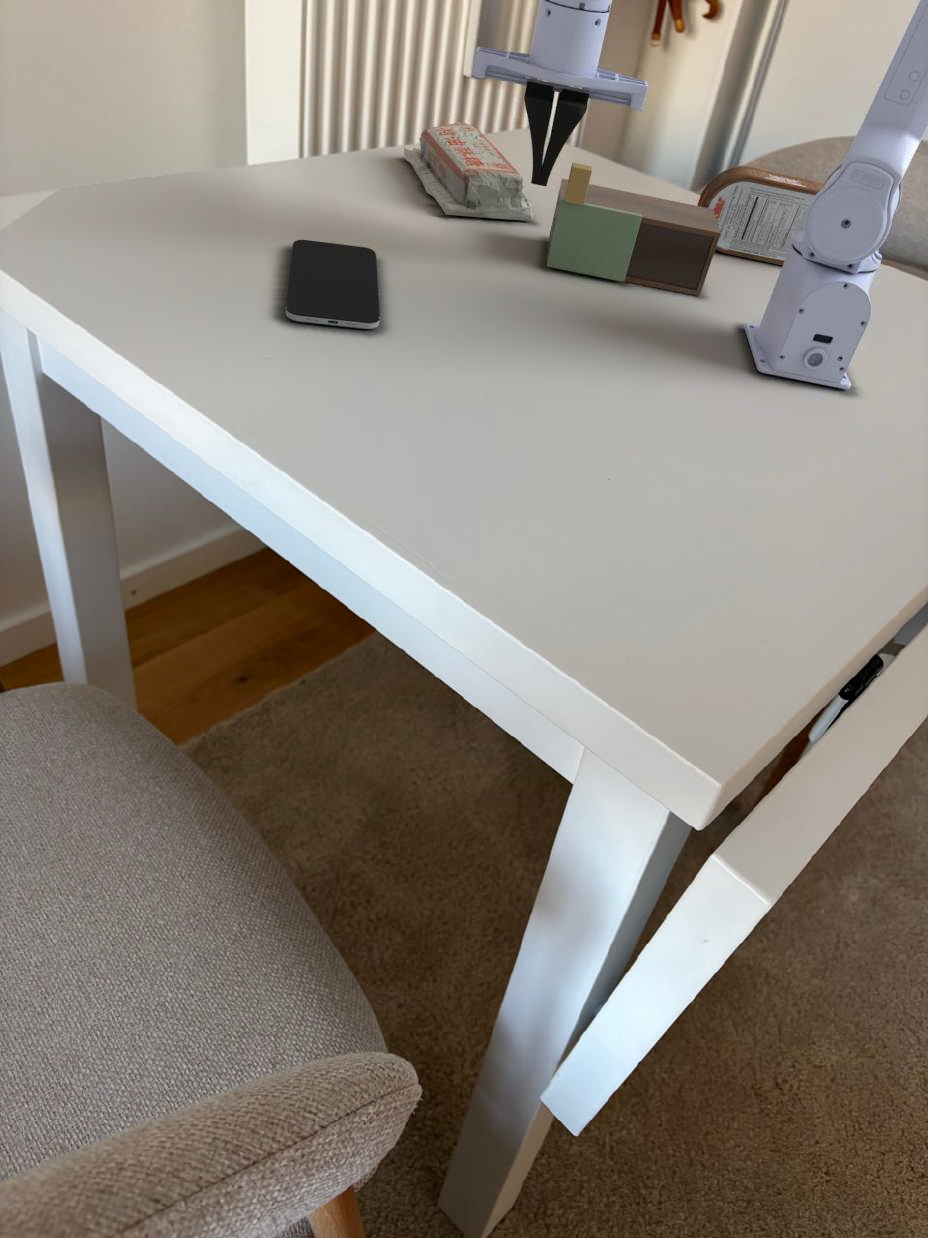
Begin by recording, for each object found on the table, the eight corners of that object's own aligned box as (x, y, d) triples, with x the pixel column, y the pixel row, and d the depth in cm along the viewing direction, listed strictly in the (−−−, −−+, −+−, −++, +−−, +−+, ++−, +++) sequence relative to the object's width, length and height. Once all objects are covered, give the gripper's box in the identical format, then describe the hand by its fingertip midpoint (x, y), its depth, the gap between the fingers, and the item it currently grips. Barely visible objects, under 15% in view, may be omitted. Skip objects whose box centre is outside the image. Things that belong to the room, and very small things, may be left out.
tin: (820, 266, 102) (853, 185, 96) (825, 276, 99) (860, 195, 94) (685, 238, 101) (711, 156, 96) (688, 249, 99) (714, 165, 93)
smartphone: (284, 312, 71) (292, 237, 81) (284, 321, 71) (292, 245, 82) (381, 323, 72) (376, 248, 83) (380, 331, 72) (375, 255, 83)
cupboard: (699, 296, 89) (720, 232, 85) (546, 265, 89) (560, 200, 85) (693, 269, 94) (713, 208, 90) (548, 240, 94) (561, 178, 90)
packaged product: (545, 175, 94) (451, 167, 91) (535, 224, 97) (443, 218, 94) (491, 120, 106) (406, 112, 103) (484, 165, 109) (401, 158, 106)
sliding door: (624, 283, 88) (652, 182, 82) (546, 268, 88) (568, 165, 82) (623, 278, 89) (651, 177, 83) (546, 262, 89) (568, 161, 83)
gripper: (660, 14, 78) (617, 184, 87) (489, -22, 77) (463, 153, 86) (666, 28, 72) (619, 208, 81) (482, -10, 72) (455, 175, 81)
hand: (539, 181), depth 83 cm, fingers closed
